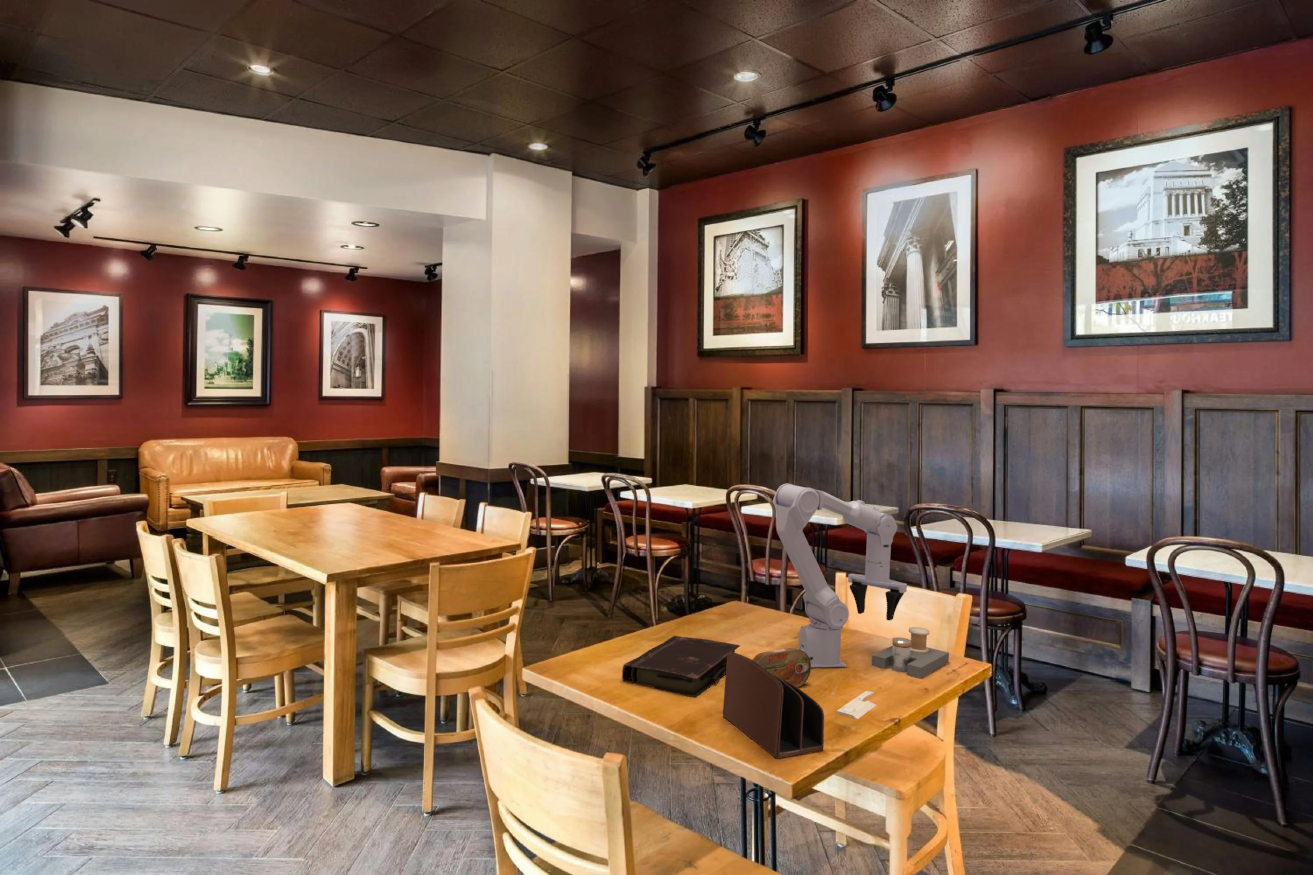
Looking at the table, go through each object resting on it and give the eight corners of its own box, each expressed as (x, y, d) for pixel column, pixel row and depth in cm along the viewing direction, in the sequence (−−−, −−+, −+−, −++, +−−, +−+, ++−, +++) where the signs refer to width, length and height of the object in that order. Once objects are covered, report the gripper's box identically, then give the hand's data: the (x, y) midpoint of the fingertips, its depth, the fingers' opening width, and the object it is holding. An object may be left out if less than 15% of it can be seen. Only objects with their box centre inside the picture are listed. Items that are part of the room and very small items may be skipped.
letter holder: (776, 760, 140) (779, 680, 140) (721, 717, 158) (724, 646, 158) (824, 751, 144) (827, 674, 144) (765, 710, 162) (768, 641, 162)
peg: (895, 672, 187) (897, 642, 187) (887, 666, 191) (889, 637, 191) (912, 672, 188) (914, 642, 187) (904, 666, 192) (906, 637, 192)
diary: (620, 684, 176) (621, 661, 176) (671, 653, 198) (671, 633, 198) (699, 700, 167) (699, 676, 167) (742, 666, 190) (743, 645, 189)
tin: (753, 696, 170) (755, 656, 169) (745, 690, 173) (746, 652, 172) (811, 686, 177) (812, 648, 176) (802, 681, 180) (803, 643, 179)
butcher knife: (888, 700, 171) (889, 695, 171) (859, 721, 159) (859, 716, 159) (866, 694, 174) (866, 689, 174) (835, 714, 162) (835, 709, 162)
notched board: (920, 678, 184) (922, 645, 183) (871, 665, 192) (873, 634, 191) (948, 662, 196) (950, 631, 195) (901, 650, 204) (902, 621, 203)
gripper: (913, 563, 196) (910, 619, 196) (858, 554, 205) (856, 607, 206) (900, 567, 190) (897, 624, 191) (844, 558, 200) (842, 612, 201)
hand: (875, 616), depth 198 cm, fingers open, 7 cm apart
